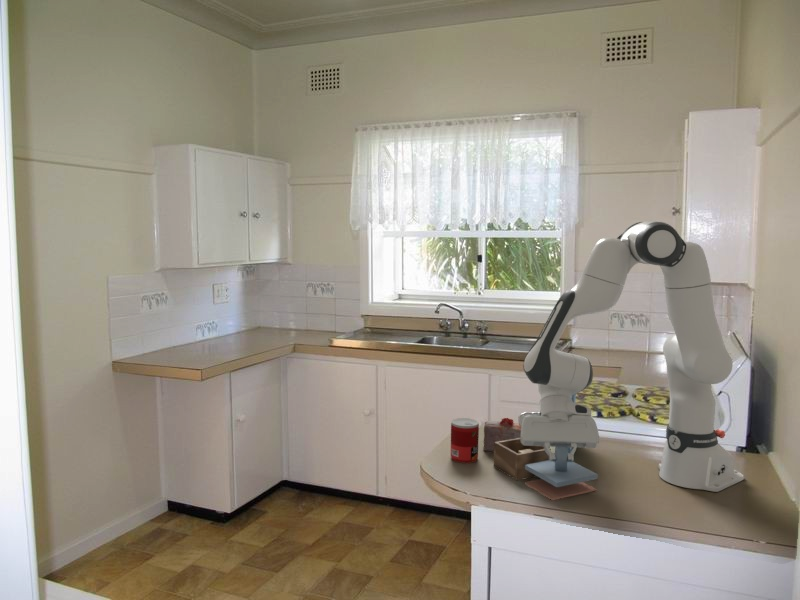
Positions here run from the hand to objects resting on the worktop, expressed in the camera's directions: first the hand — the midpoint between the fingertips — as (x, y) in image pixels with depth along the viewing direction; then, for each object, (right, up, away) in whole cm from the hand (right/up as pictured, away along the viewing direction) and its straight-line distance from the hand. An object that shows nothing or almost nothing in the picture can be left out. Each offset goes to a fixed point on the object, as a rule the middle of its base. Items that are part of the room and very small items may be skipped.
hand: (561, 461), depth 168 cm
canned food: (-23, -5, +21) cm, 32 cm away
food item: (-10, -4, +29) cm, 30 cm away
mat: (0, -7, +2) cm, 7 cm away
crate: (-8, -6, +13) cm, 16 cm away
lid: (0, -5, +1) cm, 5 cm away
